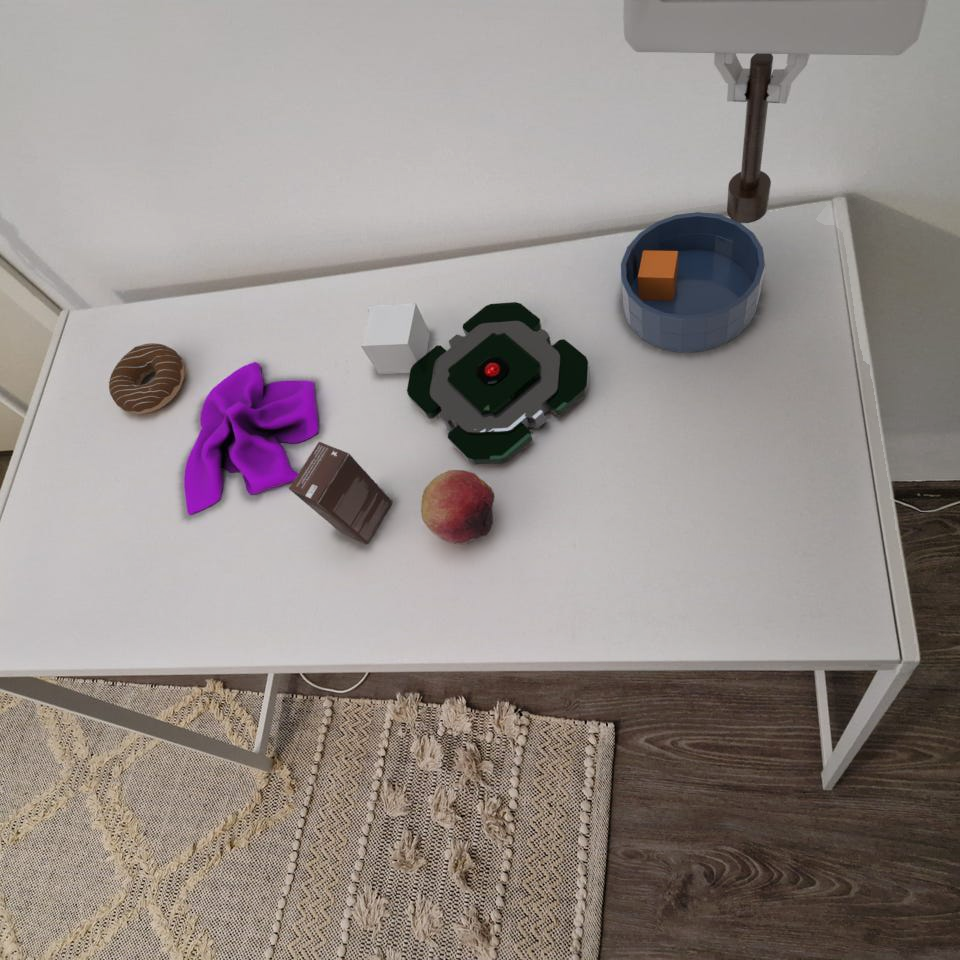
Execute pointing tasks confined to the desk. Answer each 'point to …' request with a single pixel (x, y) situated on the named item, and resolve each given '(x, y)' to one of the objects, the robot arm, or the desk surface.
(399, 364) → the white cube
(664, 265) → the block
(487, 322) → the flat green button pad
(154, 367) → the donut
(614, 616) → the desk surface
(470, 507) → the fruit
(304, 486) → the box
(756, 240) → the bowl
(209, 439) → the cloth
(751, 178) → the stirrer
